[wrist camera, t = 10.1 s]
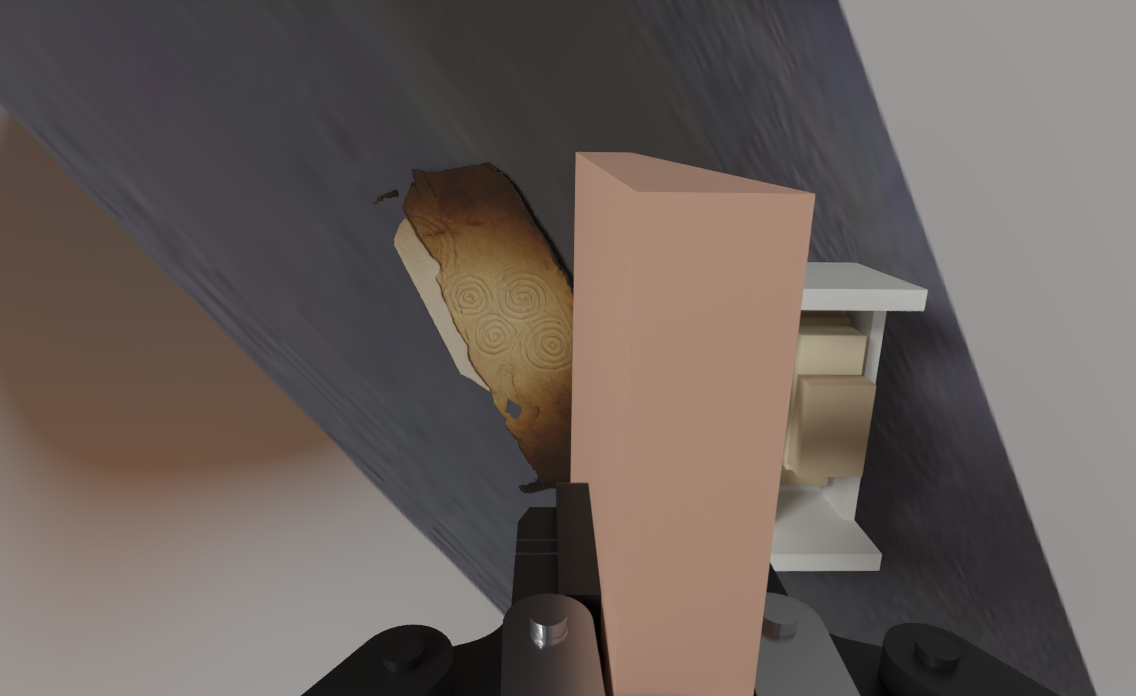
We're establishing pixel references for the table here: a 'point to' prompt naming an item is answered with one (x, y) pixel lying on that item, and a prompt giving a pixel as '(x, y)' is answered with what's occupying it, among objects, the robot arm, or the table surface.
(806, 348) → the offcut mid
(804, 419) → the offcut small
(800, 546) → the rack
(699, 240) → the board
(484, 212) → the parchment
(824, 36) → the table surface
